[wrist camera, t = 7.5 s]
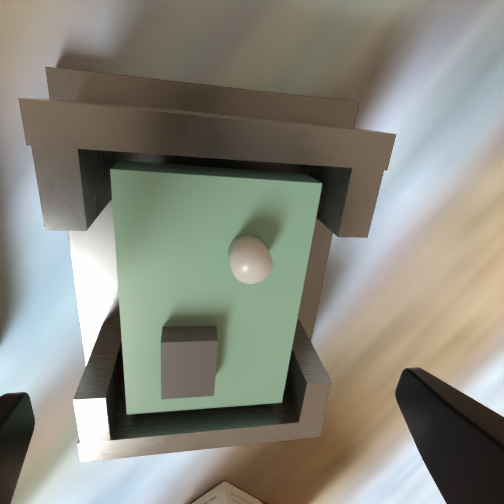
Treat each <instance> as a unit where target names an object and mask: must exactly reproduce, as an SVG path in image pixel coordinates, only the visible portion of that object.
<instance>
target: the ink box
mask: <svg viewBox="0 0 504 504" xmlns="http://www.w3.org/2000/svg"><path fill="white" fill-rule="evenodd" d="M191 504H265V503H263V502H261V501H260V500H258V499H256V498H254V497H252V496H251V495H249V494H247V493H245V492H244V491H242V490H240V489H238V488H237V487H235V486H233V485H231V484H230V483H228V482H226V481H224V482H222V483H221V484H219V485H218V486H216V487H215V488H213V489H212V490H210V491H209V492H207V493H206V494H204V495H203V496H201V497H200V498H199V499H197V500H196V501H194V502H193V503H191Z"/></svg>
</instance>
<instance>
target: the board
mask: <svg viewBox="0 0 504 504" xmlns="http://www.w3.org/2000/svg"><path fill="white" fill-rule="evenodd" d="M110 175H111V189H112V204H113V219H114V234H115V248H116V263H117V278H118V293H119V307H120V322H121V337H122V352H123V366H124V381H125V396H126V411H127V414H139V413H152V412H166V411H179V410H192V409H205V408H218V407H232V406H245V405H258V404H271V403H282V399H283V394H284V388H285V383H286V377H287V372H288V367H289V361H290V356H291V350H292V345H293V340H294V334H295V329H296V323H297V318H298V313H299V307H300V302H301V296H302V291H303V286H304V280H305V275H306V269H307V264H308V259H309V253H310V248H311V243H312V237H313V232H314V226H315V221H316V216H317V210H318V205H319V199H320V194H321V189H322V183H321V182H319V181H318V180H316V179H314V178H312V177H311V176H309V175H307V174H301V173H288V172H274V171H260V170H246V169H232V168H219V167H205V166H191V165H177V164H163V163H150V162H136V161H122V160H120V161H119V162H118V163H117V164H116V165H114V166H113V167H112V168H111V169H110Z"/></svg>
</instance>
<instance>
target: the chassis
mask: <svg viewBox="0 0 504 504" xmlns="http://www.w3.org/2000/svg"><path fill="white" fill-rule="evenodd" d="M45 68H46V76H47V83H48V90H49V98H50V99H25V98H19V104H20V110H21V116H22V122H23V127H24V133H25V139H26V145H30V146H31V147H32V153H33V159H34V165H35V171H36V177H37V183H38V189H39V195H40V201H41V208H42V214H43V220H44V226H45V230H68V237H69V244H70V252H71V259H72V266H73V274H74V281H75V288H76V296H77V303H78V310H79V318H80V325H81V332H82V340H83V347H84V354H85V362H86V368H85V371H84V373H83V376H82V378H81V381H80V384H79V386H78V389H77V391H76V394H75V397H74V399H73V402H74V408H75V414H76V420H77V426H78V432H79V440H78V443H77V445H78V451H79V457H80V462H88V461H98V460H107V459H116V458H126V457H135V456H145V455H154V454H164V453H173V452H182V451H192V450H201V449H211V448H220V447H230V446H239V445H248V444H258V443H267V442H277V441H286V440H296V439H305V438H315V437H320V435H321V431H322V427H323V423H324V418H323V414H324V410H325V406H326V402H327V398H328V394H329V390H330V386H331V380H330V378H329V376H328V374H327V372H326V370H325V368H324V366H323V364H322V362H321V360H320V359H319V357H318V355H317V353H316V351H315V349H314V347H313V345H312V343H311V337H312V332H313V327H314V322H315V317H316V313H317V308H318V303H319V298H320V293H321V288H322V283H323V278H324V273H325V268H326V263H327V258H328V253H329V248H330V243H331V238H332V233H334V234H335V235H336V236H338V237H365V238H367V237H368V233H369V229H370V225H371V221H372V217H373V213H374V209H375V205H376V201H377V197H378V193H379V189H380V184H381V180H382V176H383V172H384V170H387V169H388V165H389V161H390V157H391V153H392V149H393V145H394V141H395V137H396V134H392V133H385V132H378V131H371V130H365V129H358V128H354V124H355V120H356V115H357V110H358V105H359V102H352V101H343V100H334V99H326V98H317V97H308V96H299V95H290V94H282V93H273V92H264V91H255V90H246V89H238V88H229V87H220V86H211V85H203V84H194V83H185V82H176V81H167V80H159V79H150V78H141V77H132V76H123V75H115V74H106V73H97V72H88V71H80V70H71V69H62V68H53V67H45ZM120 160H122V161H136V162H150V163H163V164H177V165H191V166H205V167H219V168H232V169H246V170H260V171H274V172H288V173H301V174H307V175H309V176H311V177H312V178H314V179H316V180H318V181H319V182H321V183H322V189H321V194H320V199H319V205H318V210H317V216H316V221H315V226H314V232H313V237H312V243H311V248H310V253H309V259H308V264H307V269H306V275H305V280H304V286H303V291H302V296H301V302H300V307H299V313H298V318H297V323H296V329H295V334H294V340H293V345H292V350H291V356H290V361H289V367H288V372H287V377H286V383H285V388H284V394H283V399H282V403H271V404H258V405H245V406H232V407H218V408H205V409H192V410H179V411H166V412H152V413H139V414H127V411H126V396H125V381H124V366H123V352H122V337H121V322H120V307H119V293H118V278H117V263H116V248H115V234H114V219H113V204H112V189H111V175H110V169H111V168H112V167H113V166H114V165H116V164H117V163H118V162H119V161H120Z"/></svg>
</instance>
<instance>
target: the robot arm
mask: <svg viewBox="0 0 504 504" xmlns="http://www.w3.org/2000/svg"><path fill="white" fill-rule="evenodd" d="M395 395H396V400H397V403H398V405H399V407H400V409H401V412H402V414H403V416H404V419H405V421H406V423H407V425H408V428H409V430H410V432H411V435H412V437H413V439H414V441H415V444H416V446H417V448H418V450H419V453H420V455H421V457H422V459H423V461H424V463H425V465H426V467H427V469H428V470H429V472H430V474H431V476H432V478H433V480H434V481H435V483H436V485H437V487H438V489H439V491H440V493H441V494H442V496H443V498H444V500H445V502H446V504H504V417H503V416H501V415H499V414H498V413H496V412H494V411H492V410H491V409H489V408H487V407H486V406H484V405H482V404H481V403H479V402H477V401H476V400H474V399H472V398H470V397H469V396H467V395H465V394H464V393H462V392H460V391H459V390H457V389H455V388H454V387H452V386H450V385H448V384H447V383H445V382H443V381H442V380H440V379H438V378H437V377H435V376H433V375H432V374H430V373H428V372H426V371H425V370H423V369H421V368H406V369H404V370H403V371H402V374H401V377H400V379H399V382H398V385H397V388H396V391H395ZM34 426H35V418H34V414H33V410H32V405H31V401H30V397H29V395H28V394H27V393H25V392H19V393H7V394H4V395H2V396H1V397H0V504H11V501H12V498H13V495H14V492H15V488H16V485H17V482H18V479H19V476H20V472H21V469H22V466H23V463H24V460H25V456H26V453H27V450H28V447H29V444H30V441H31V437H32V434H33V431H34Z"/></svg>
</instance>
